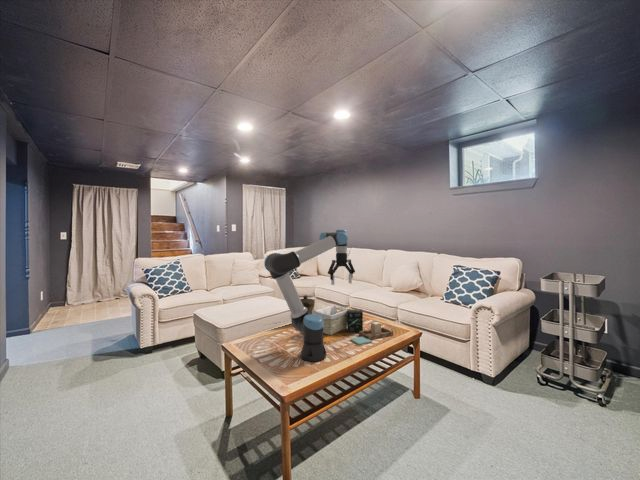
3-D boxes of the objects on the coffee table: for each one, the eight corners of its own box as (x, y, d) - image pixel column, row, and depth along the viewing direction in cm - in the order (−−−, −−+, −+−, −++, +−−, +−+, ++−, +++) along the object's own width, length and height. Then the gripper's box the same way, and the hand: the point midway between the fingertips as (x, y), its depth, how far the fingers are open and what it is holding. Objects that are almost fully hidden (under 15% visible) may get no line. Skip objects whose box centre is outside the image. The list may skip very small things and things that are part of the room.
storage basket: (330, 336, 201) (331, 315, 200) (312, 330, 211) (313, 310, 210) (349, 328, 219) (350, 308, 219) (332, 323, 230) (333, 304, 229)
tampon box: (362, 328, 218) (362, 309, 217) (363, 332, 209) (363, 312, 208) (347, 328, 219) (347, 308, 218) (347, 332, 209) (347, 312, 209)
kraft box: (375, 336, 199) (375, 324, 199) (370, 334, 204) (370, 322, 204) (381, 335, 202) (381, 323, 202) (376, 333, 206) (376, 321, 206)
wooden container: (317, 323, 231) (317, 296, 231) (300, 326, 224) (300, 298, 224) (309, 319, 244) (309, 293, 244) (293, 321, 237) (293, 294, 237)
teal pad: (359, 345, 184) (359, 343, 184) (350, 340, 193) (350, 338, 193) (371, 342, 189) (371, 340, 189) (362, 337, 198) (362, 336, 198)
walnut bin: (368, 340, 193) (368, 336, 193) (358, 335, 203) (358, 331, 203) (393, 335, 203) (393, 331, 203) (382, 330, 212) (382, 327, 212)
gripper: (327, 253, 188) (328, 286, 188) (360, 252, 199) (360, 283, 199) (322, 252, 195) (322, 284, 195) (353, 251, 206) (354, 281, 206)
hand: (341, 284), depth 197 cm, fingers open, 13 cm apart
